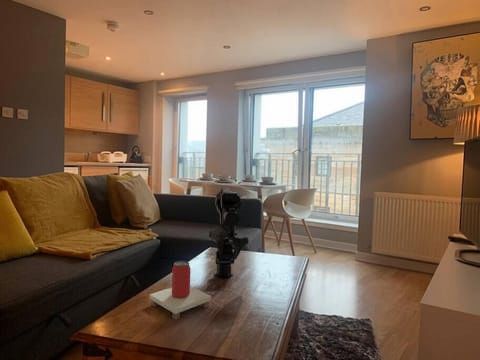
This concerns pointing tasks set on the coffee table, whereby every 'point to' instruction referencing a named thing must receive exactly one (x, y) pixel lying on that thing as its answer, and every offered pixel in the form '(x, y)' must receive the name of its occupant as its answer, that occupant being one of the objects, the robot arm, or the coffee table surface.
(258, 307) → the coffee table surface
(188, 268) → the beer can
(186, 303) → the white square platform
